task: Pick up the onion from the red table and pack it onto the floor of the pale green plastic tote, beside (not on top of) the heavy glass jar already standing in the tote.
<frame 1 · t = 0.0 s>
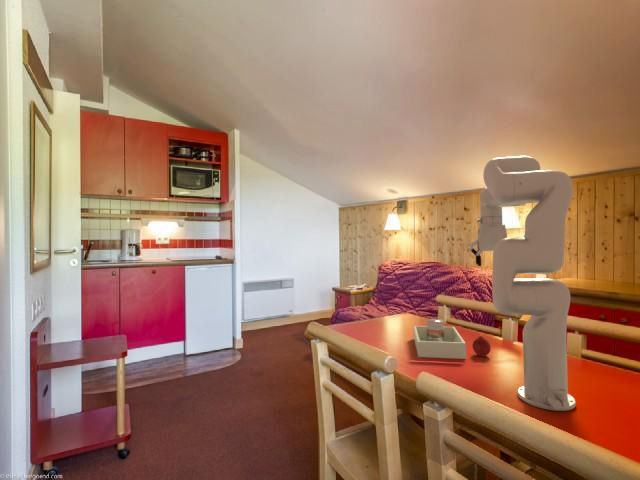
hand: (492, 265, 133), 31 cm above the table, fingers open, 9 cm apart
onion: (481, 357, 121), on the table
glass jar: (435, 343, 137), point 1 cm above the table, touching tote
tote: (437, 349, 131), on the table
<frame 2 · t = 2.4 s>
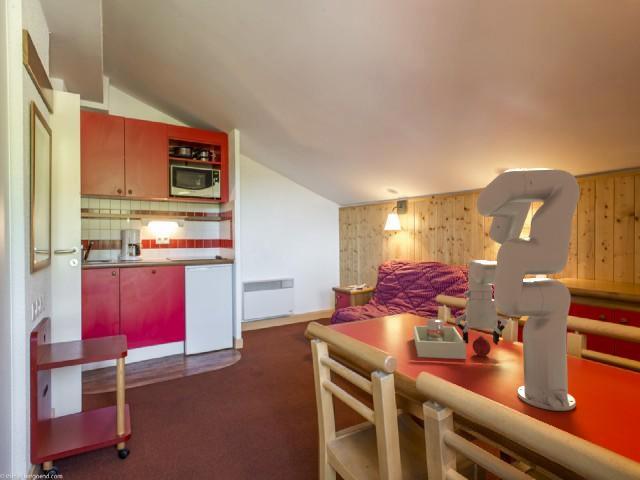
hand: (480, 342, 122), 5 cm above the table, fingers open, 9 cm apart
nothing on the table moved.
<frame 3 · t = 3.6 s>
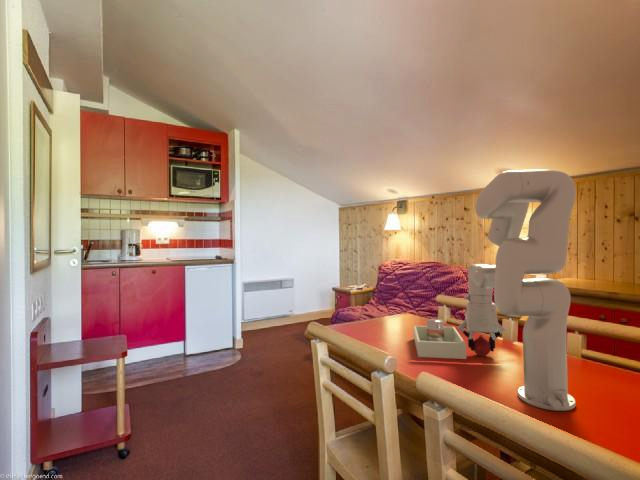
hand: (481, 349, 121), 3 cm above the table, fingers closed on onion, 5 cm apart
onion: (481, 357, 121), on the table, touching gripper
everything else where it was.
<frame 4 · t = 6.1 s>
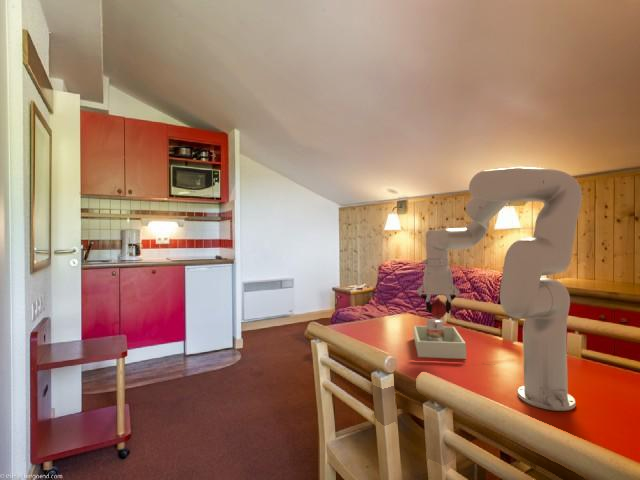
hand: (438, 311, 126), 15 cm above the table, fingers closed on onion, 5 cm apart
onion: (438, 319, 126), point 12 cm above the table, touching gripper
everything else where it was.
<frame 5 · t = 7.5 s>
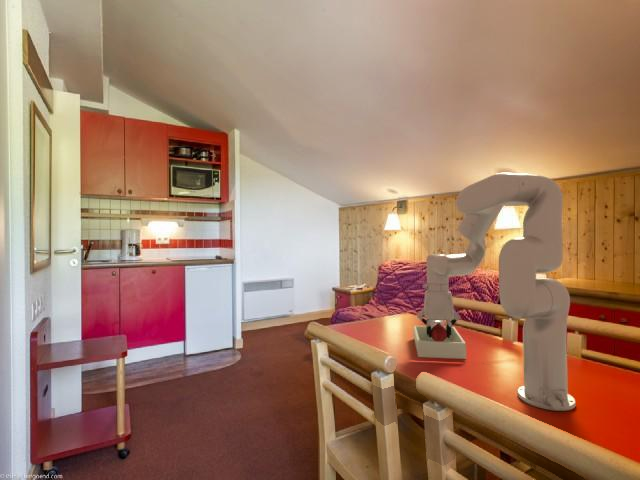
hand: (438, 336, 126), 6 cm above the table, fingers closed on onion, 5 cm apart
onion: (439, 344, 126), point 3 cm above the table, touching gripper
everything else where it was.
when the fingers open (5 cm above the table, at t = 8.7 s): onion drops 1 cm, resting on tote.
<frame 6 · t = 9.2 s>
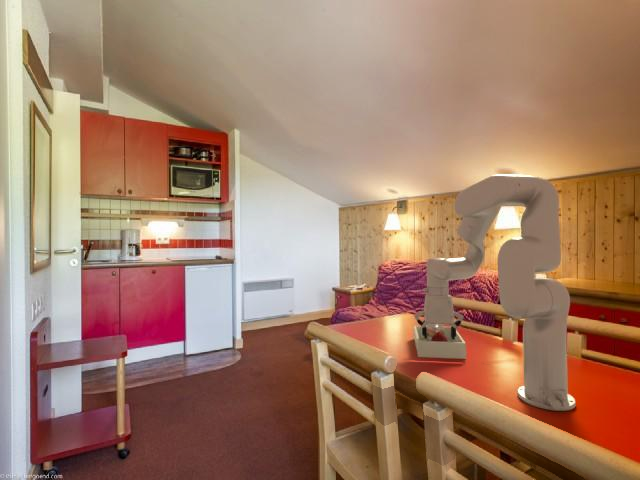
hand: (439, 338, 126), 6 cm above the table, fingers open, 9 cm apart
onion: (439, 352, 126), resting on tote
everything else where it was.
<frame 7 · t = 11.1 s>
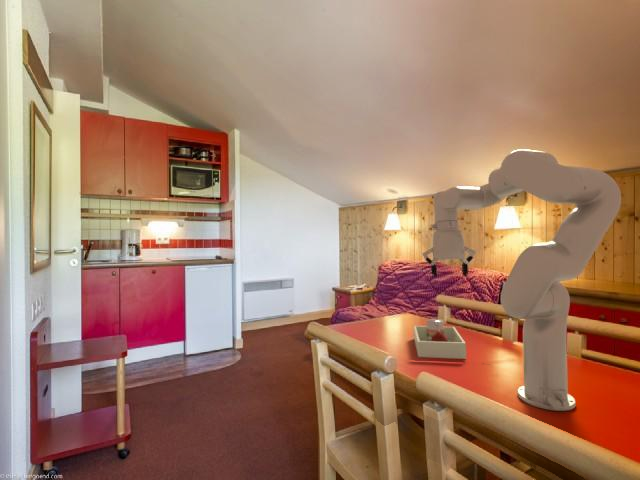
hand: (449, 276, 119), 29 cm above the table, fingers open, 9 cm apart
nothing on the table moved.
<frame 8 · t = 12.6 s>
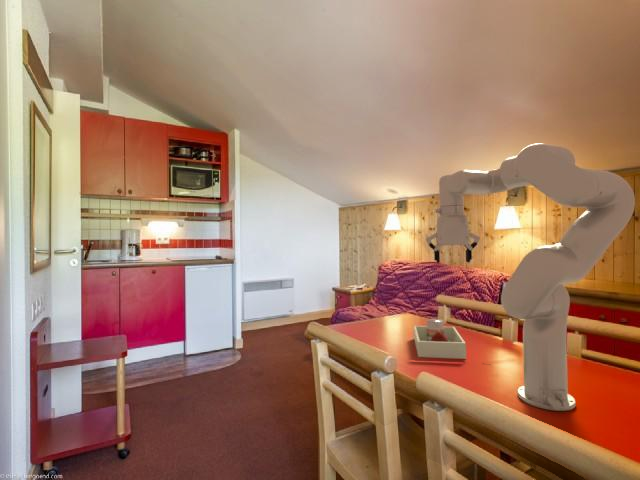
hand: (452, 262, 116), 34 cm above the table, fingers open, 9 cm apart
nothing on the table moved.
at the end: onion inside the target area on the tote (1.0 cm from its centre), point 0.4 cm above the tote's base; glass jar moved 0.0 cm from its start; the gripper is holding nothing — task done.
